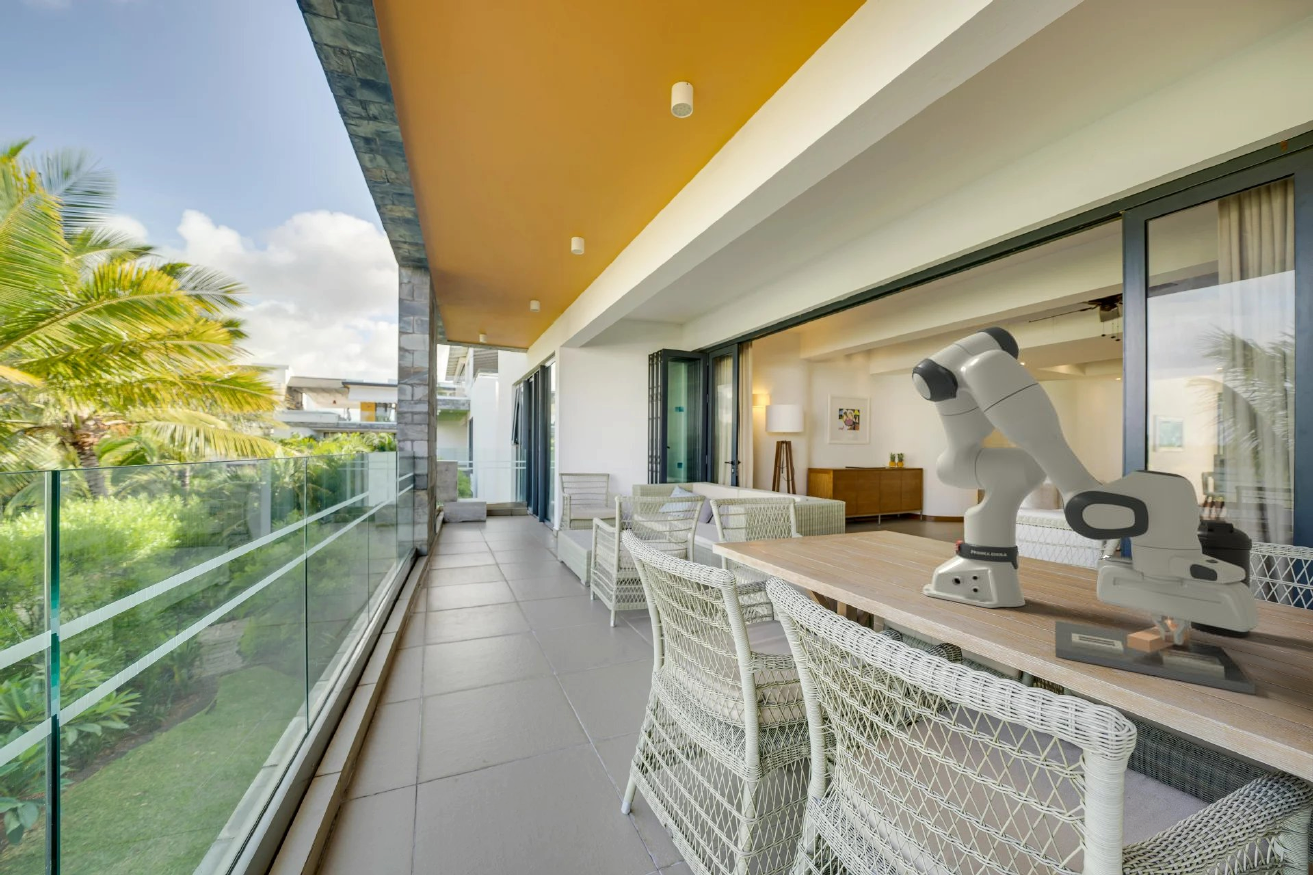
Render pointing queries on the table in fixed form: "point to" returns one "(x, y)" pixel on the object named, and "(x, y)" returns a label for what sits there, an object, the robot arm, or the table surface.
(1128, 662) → the label panel
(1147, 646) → the swing bar
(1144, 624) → the table surface
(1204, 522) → the water bottle
